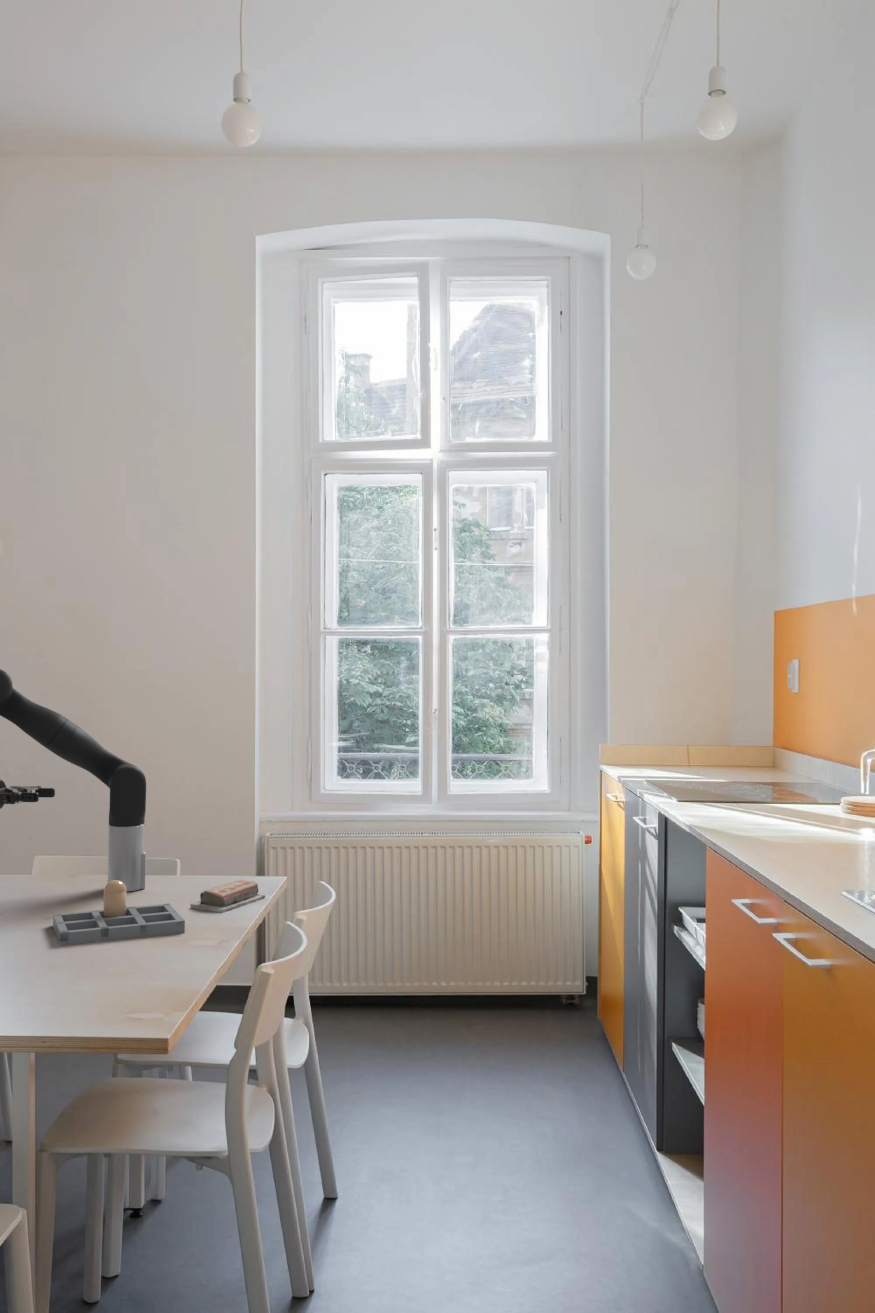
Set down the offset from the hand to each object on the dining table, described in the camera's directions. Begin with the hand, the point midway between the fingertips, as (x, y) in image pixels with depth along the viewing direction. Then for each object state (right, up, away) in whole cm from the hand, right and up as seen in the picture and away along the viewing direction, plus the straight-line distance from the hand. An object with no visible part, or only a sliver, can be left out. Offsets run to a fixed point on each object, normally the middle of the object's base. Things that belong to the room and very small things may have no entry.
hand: (46, 795), depth 237 cm
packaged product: (+41, -30, +12) cm, 52 cm away
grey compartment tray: (+22, -29, -14) cm, 39 cm away
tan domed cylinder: (+20, -28, -11) cm, 36 cm away
